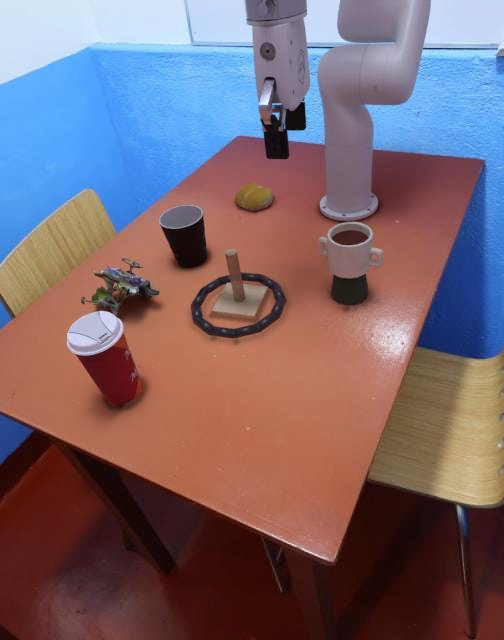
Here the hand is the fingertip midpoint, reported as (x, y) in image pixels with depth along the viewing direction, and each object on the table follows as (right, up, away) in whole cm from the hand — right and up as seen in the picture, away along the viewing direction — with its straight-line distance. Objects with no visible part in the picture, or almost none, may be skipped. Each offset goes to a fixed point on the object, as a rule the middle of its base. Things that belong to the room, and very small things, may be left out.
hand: (287, 143), depth 68 cm
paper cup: (-25, -37, +4) cm, 45 cm away
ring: (-8, -23, +14) cm, 28 cm away
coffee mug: (-17, -12, +29) cm, 36 cm away
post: (-7, -23, +16) cm, 29 cm away
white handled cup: (+12, -22, +13) cm, 28 cm away
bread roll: (-5, +2, +42) cm, 43 cm away
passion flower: (-29, -24, +19) cm, 42 cm away
